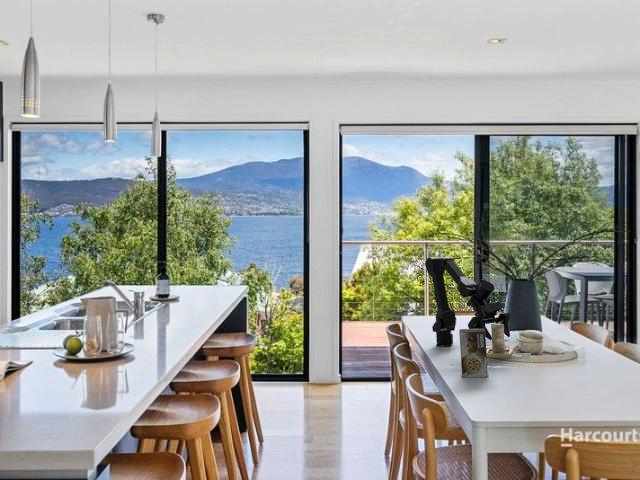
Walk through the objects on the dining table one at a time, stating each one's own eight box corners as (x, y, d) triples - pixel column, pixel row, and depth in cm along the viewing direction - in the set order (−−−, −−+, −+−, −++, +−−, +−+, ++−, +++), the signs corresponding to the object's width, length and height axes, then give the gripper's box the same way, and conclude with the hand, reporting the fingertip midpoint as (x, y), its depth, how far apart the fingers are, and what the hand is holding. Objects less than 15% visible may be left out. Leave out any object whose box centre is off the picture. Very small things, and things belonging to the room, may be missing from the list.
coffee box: (487, 373, 239) (485, 328, 239) (488, 377, 233) (486, 330, 232) (461, 373, 241) (459, 328, 241) (461, 377, 235) (459, 331, 234)
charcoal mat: (466, 359, 264) (466, 357, 264) (474, 348, 287) (474, 346, 287) (529, 360, 256) (529, 358, 256) (533, 348, 278) (533, 346, 278)
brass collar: (484, 357, 263) (484, 353, 263) (487, 352, 272) (487, 348, 272) (510, 357, 259) (510, 353, 259) (513, 352, 269) (512, 348, 269)
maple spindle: (488, 355, 265) (487, 325, 265) (494, 352, 270) (493, 323, 270) (502, 356, 262) (501, 326, 261) (509, 354, 266) (507, 324, 266)
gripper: (470, 296, 265) (490, 327, 255) (507, 292, 273) (528, 322, 263) (459, 314, 272) (478, 345, 262) (495, 310, 280) (515, 339, 271)
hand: (500, 337), depth 264 cm, fingers open, 9 cm apart
